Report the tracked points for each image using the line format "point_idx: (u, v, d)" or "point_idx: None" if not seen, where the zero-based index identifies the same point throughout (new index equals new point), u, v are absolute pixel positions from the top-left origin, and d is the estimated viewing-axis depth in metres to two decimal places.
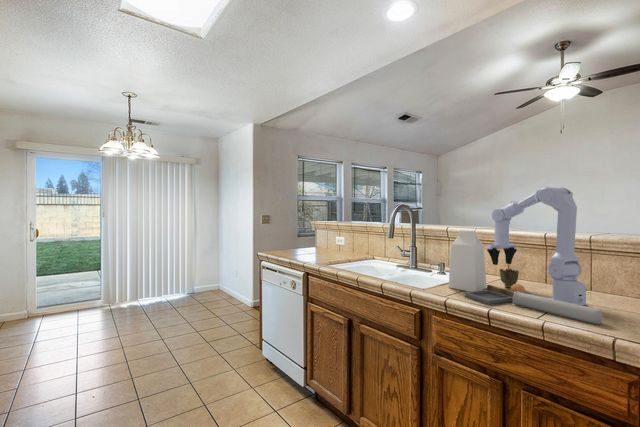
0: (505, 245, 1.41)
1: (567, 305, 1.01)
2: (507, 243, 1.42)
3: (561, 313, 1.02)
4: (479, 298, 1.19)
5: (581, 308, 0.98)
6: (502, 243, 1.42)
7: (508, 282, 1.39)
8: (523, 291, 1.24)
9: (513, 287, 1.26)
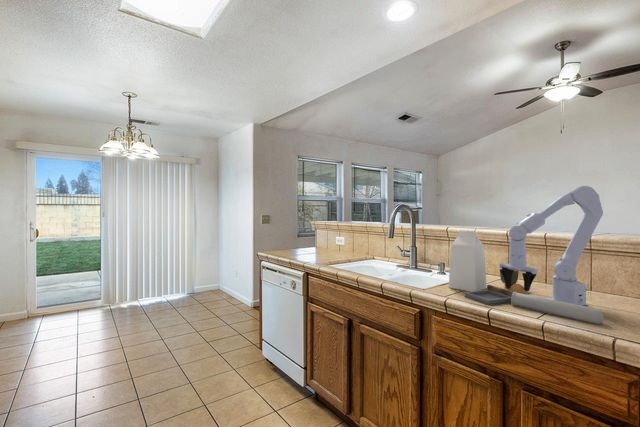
0: (510, 266, 1.26)
1: (567, 305, 1.01)
2: (513, 264, 1.25)
3: (561, 313, 1.01)
4: (479, 298, 1.19)
5: (581, 308, 0.98)
6: (509, 263, 1.27)
7: None
8: (523, 291, 1.24)
9: (513, 287, 1.26)
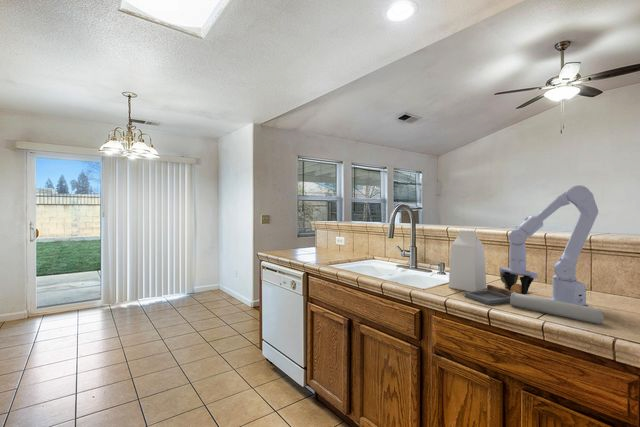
0: (511, 270, 1.26)
1: (567, 305, 1.01)
2: (514, 269, 1.25)
3: (561, 314, 1.01)
4: (479, 298, 1.19)
5: (582, 308, 0.98)
6: (509, 268, 1.27)
7: None
8: None
9: (513, 287, 1.26)
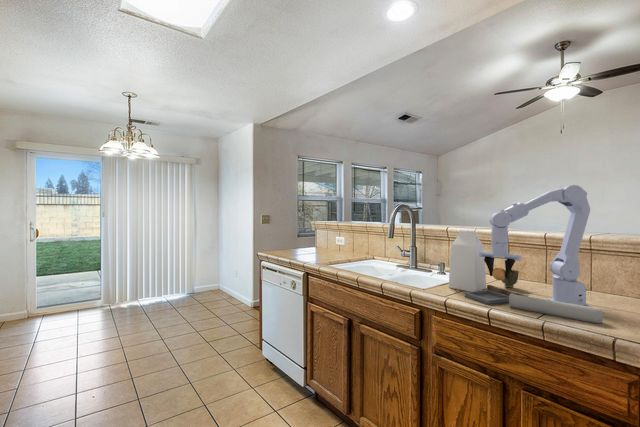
0: (494, 254, 1.23)
1: (568, 305, 1.00)
2: (498, 252, 1.22)
3: (562, 314, 1.01)
4: (479, 298, 1.19)
5: (582, 308, 0.98)
6: (492, 252, 1.24)
7: (508, 282, 1.39)
8: None
9: (496, 271, 1.23)
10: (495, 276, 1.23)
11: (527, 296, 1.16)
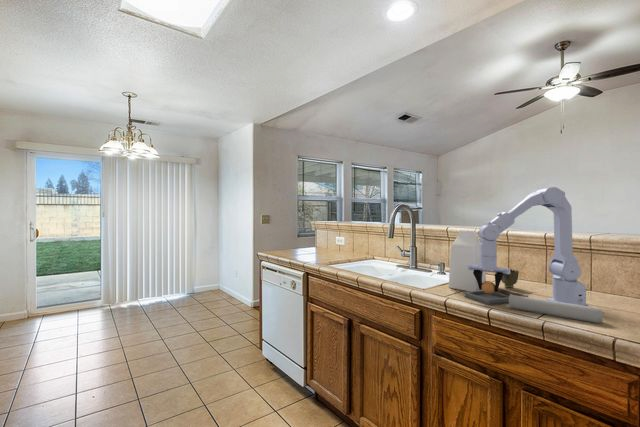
0: (484, 268, 1.21)
1: (568, 305, 1.00)
2: (487, 266, 1.20)
3: (562, 314, 1.01)
4: (479, 298, 1.19)
5: (583, 308, 0.98)
6: (482, 265, 1.22)
7: (508, 282, 1.39)
8: None
9: (486, 285, 1.21)
10: (485, 290, 1.21)
11: (527, 296, 1.16)
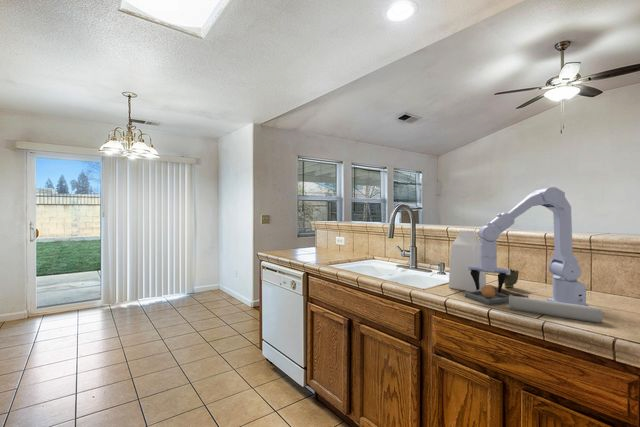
0: (484, 268, 1.21)
1: (568, 306, 1.00)
2: (487, 266, 1.20)
3: (563, 314, 1.00)
4: (479, 298, 1.19)
5: (583, 308, 0.98)
6: (482, 265, 1.22)
7: (508, 282, 1.39)
8: (495, 292, 1.21)
9: (486, 289, 1.21)
10: (485, 294, 1.21)
11: (527, 296, 1.16)
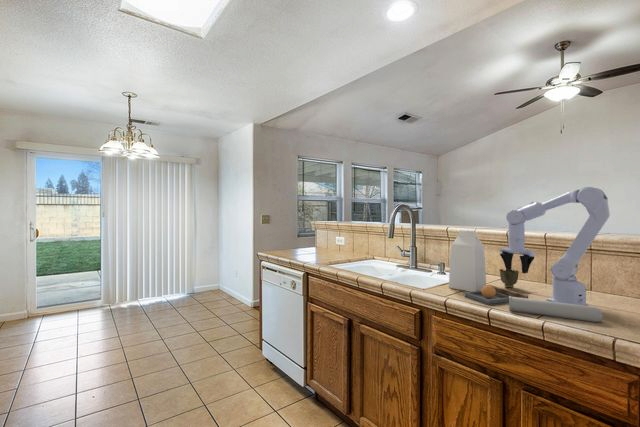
0: (509, 249, 1.30)
1: (569, 306, 1.00)
2: (512, 248, 1.29)
3: (564, 315, 1.00)
4: (479, 298, 1.19)
5: (583, 308, 0.98)
6: None
7: (508, 282, 1.39)
8: (495, 292, 1.21)
9: (486, 289, 1.21)
10: (485, 294, 1.21)
11: (527, 296, 1.16)
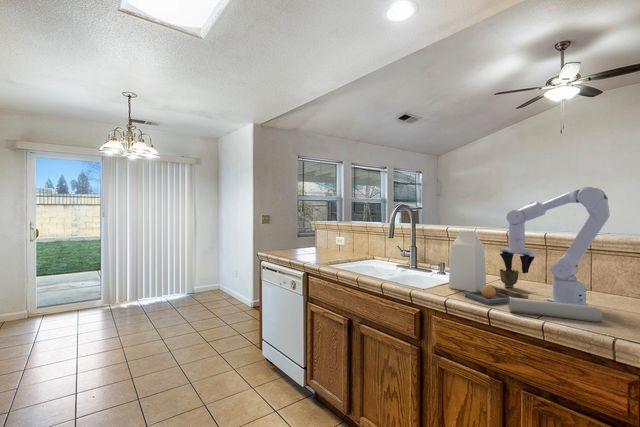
0: (509, 249, 1.30)
1: (569, 306, 1.00)
2: (512, 248, 1.29)
3: (565, 315, 1.00)
4: (479, 298, 1.19)
5: (584, 308, 0.98)
6: None
7: (508, 282, 1.39)
8: (495, 292, 1.21)
9: (486, 289, 1.21)
10: (485, 294, 1.21)
11: (527, 296, 1.16)
